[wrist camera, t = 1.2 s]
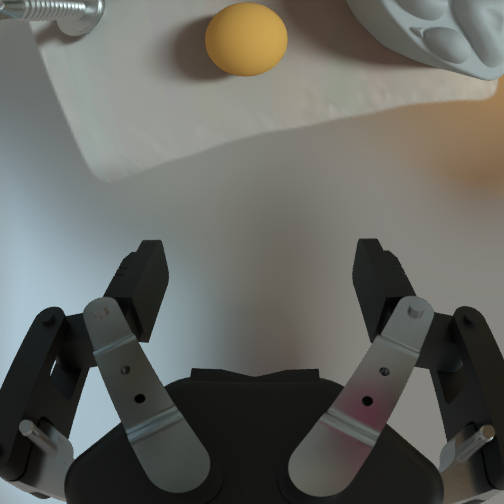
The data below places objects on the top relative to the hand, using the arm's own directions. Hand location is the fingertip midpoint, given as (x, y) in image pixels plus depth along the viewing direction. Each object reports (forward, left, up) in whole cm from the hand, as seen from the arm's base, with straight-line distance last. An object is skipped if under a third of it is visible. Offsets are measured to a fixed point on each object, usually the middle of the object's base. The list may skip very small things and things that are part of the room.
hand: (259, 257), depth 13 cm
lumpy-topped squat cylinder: (-14, +13, -18) cm, 26 cm away
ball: (-9, -1, -15) cm, 17 cm away
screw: (-14, -15, -18) cm, 27 cm away
